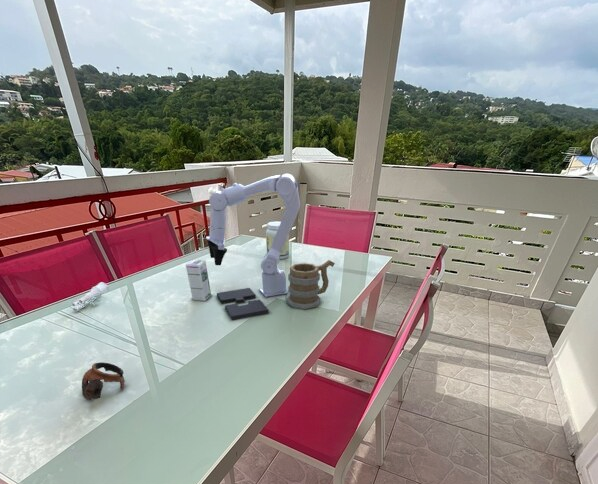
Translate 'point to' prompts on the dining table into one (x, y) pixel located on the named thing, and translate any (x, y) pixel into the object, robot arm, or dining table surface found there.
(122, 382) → the brown looped strap
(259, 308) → the charcoal pad
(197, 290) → the syrup box
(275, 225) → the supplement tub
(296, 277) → the tankard
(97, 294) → the toy cannon
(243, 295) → the black pad
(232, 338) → the dining table surface
